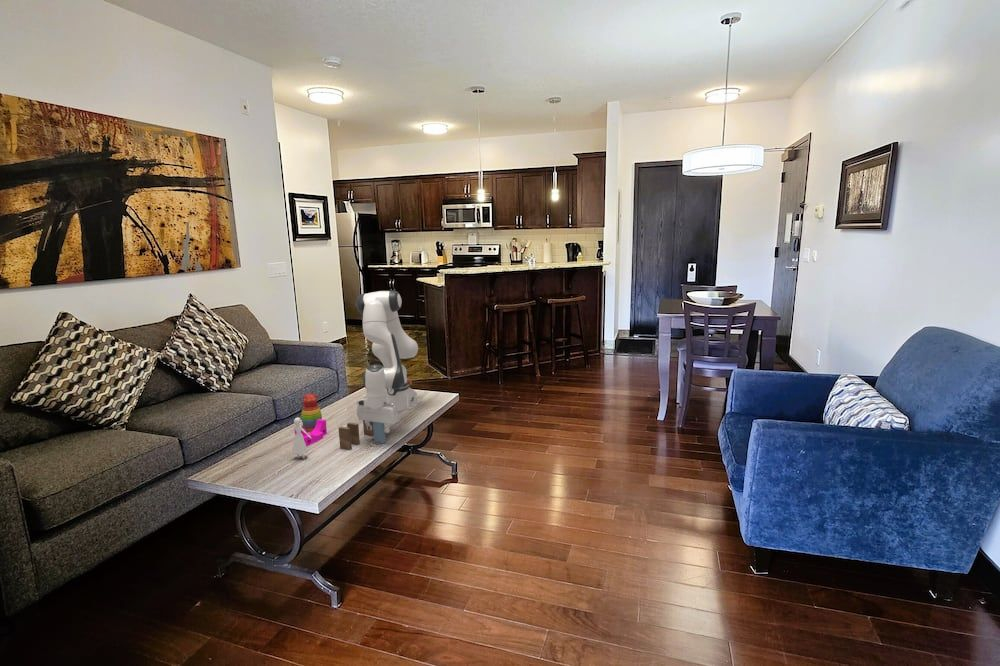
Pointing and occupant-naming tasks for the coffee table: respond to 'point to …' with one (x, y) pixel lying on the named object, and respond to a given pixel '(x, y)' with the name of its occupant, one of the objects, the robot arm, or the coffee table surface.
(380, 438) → the domino
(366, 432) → the domino
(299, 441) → the woman figurine
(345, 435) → the domino
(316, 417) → the stacking bear
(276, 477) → the coffee table surface
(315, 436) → the toy block
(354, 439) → the domino
